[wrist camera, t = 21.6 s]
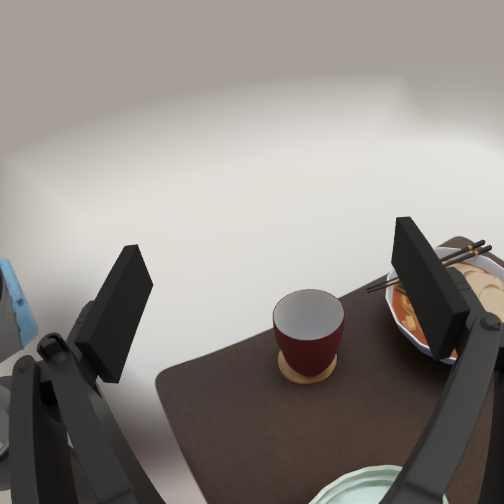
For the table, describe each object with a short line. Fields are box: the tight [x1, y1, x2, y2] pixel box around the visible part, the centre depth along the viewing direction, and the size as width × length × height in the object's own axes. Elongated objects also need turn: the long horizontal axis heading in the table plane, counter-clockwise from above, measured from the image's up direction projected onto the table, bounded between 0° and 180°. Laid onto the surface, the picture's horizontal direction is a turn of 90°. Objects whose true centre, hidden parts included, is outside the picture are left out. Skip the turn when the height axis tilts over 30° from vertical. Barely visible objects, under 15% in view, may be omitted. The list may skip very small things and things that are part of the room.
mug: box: [273, 289, 344, 377], centre depth 39 cm, size 10×8×10 cm
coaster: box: [278, 351, 337, 384], centre depth 42 cm, size 8×8×1 cm
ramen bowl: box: [365, 240, 504, 364], centre depth 39 cm, size 25×23×8 cm
